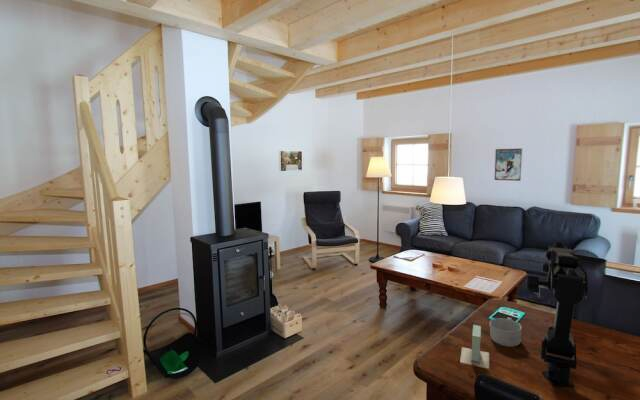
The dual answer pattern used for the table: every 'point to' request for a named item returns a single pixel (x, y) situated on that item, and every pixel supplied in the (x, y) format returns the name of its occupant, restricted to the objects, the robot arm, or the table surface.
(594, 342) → the table surface
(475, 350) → the pale mint rectangular box
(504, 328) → the teacup
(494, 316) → the handheld game console
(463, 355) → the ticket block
